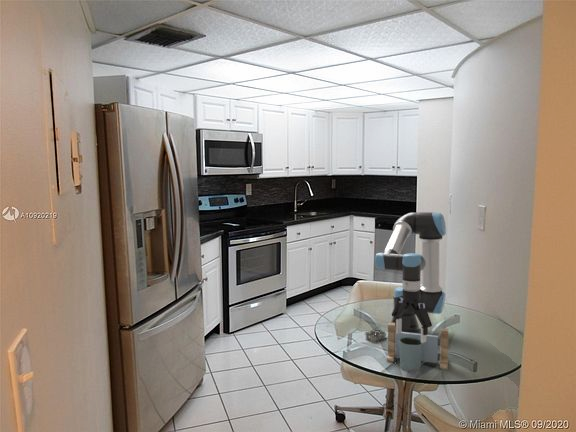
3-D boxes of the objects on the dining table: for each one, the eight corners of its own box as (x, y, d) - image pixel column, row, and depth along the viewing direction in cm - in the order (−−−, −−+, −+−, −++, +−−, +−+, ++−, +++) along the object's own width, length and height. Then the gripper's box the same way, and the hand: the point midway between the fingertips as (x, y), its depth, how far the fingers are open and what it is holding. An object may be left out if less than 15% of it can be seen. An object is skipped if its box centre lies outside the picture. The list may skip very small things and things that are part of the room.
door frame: (390, 352, 209) (390, 320, 208) (448, 360, 199) (448, 326, 198) (386, 360, 200) (386, 326, 198) (447, 369, 190) (447, 333, 189)
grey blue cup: (394, 365, 195) (394, 338, 194) (412, 360, 200) (412, 335, 199) (409, 374, 186) (409, 346, 185) (427, 369, 190) (428, 342, 189)
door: (396, 355, 205) (396, 330, 204) (439, 360, 198) (440, 335, 197) (395, 357, 202) (395, 332, 201) (439, 363, 195) (439, 337, 194)
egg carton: (373, 343, 223) (373, 335, 222) (363, 338, 229) (362, 331, 229) (388, 338, 228) (388, 330, 228) (377, 334, 235) (377, 326, 234)
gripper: (383, 285, 198) (383, 331, 200) (429, 296, 178) (428, 347, 179) (395, 283, 202) (395, 328, 204) (441, 294, 182) (440, 344, 183)
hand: (410, 337), depth 192 cm, fingers open, 13 cm apart
